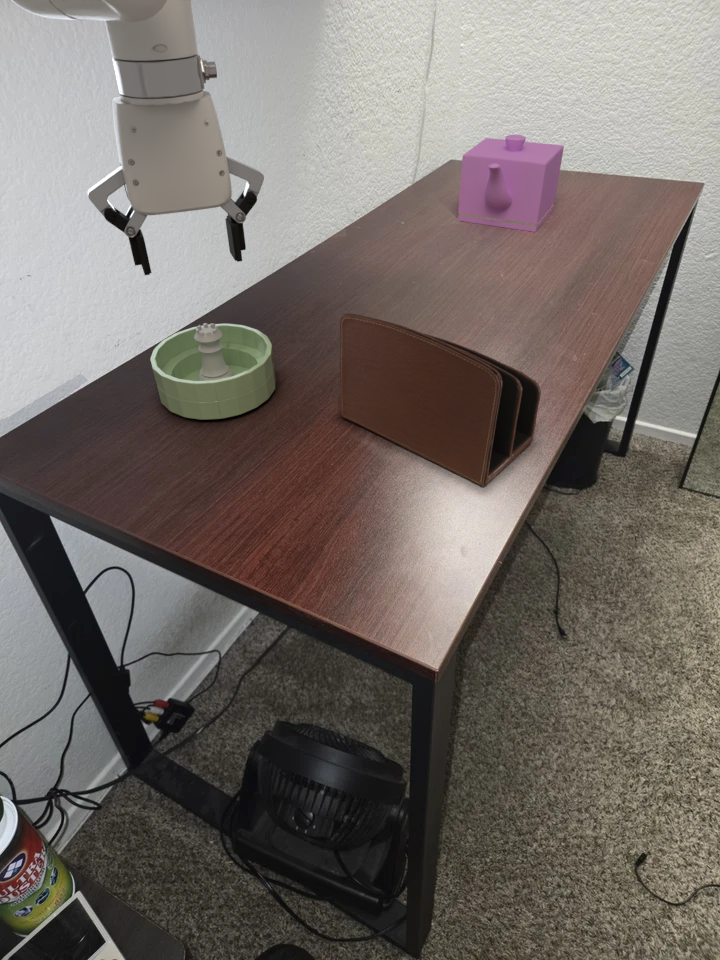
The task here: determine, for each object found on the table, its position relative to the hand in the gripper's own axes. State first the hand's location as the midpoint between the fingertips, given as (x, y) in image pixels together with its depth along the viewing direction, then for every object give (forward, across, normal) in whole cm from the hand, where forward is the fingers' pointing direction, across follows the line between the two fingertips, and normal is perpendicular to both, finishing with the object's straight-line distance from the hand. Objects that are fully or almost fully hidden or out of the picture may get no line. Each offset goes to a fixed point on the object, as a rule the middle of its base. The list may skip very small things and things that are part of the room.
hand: (192, 263), depth 71 cm
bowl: (+16, -1, 0) cm, 16 cm away
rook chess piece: (+16, 0, 0) cm, 16 cm away
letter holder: (+16, -22, +17) cm, 32 cm away
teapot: (+15, -65, -40) cm, 78 cm away
